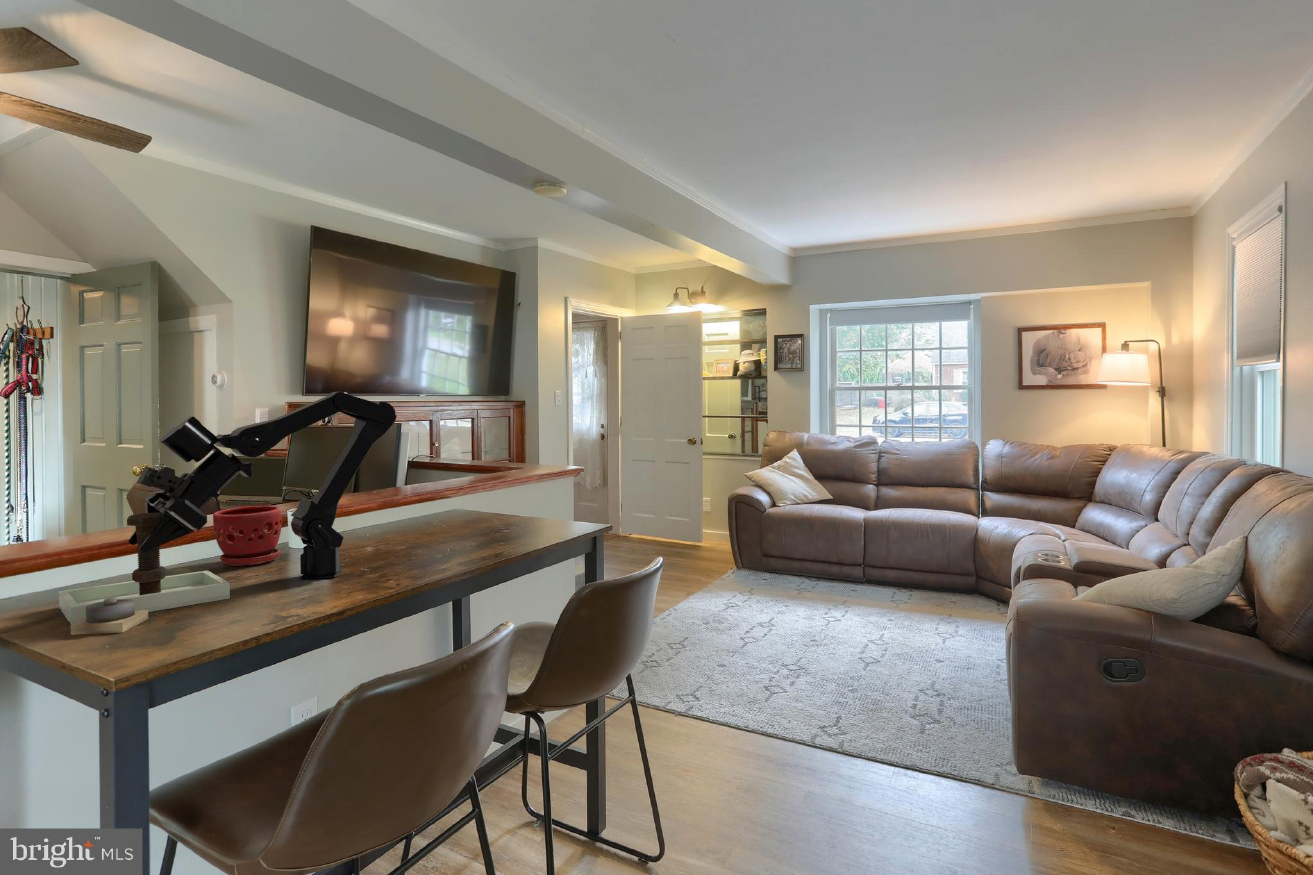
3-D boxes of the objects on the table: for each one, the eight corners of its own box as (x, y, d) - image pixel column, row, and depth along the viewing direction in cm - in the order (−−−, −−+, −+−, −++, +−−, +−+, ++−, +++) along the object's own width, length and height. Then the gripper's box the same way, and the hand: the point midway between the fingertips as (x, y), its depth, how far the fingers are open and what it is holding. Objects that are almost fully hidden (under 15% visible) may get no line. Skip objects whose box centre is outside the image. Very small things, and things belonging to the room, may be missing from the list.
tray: (207, 584, 134) (207, 570, 134) (229, 598, 125) (229, 582, 125) (59, 607, 118) (58, 591, 118) (71, 625, 109) (70, 607, 109)
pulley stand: (148, 618, 112) (147, 592, 112) (122, 632, 105) (122, 604, 105) (99, 620, 111) (99, 594, 111) (70, 634, 104) (70, 606, 104)
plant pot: (238, 555, 162) (237, 504, 161) (293, 556, 161) (293, 505, 161) (199, 568, 149) (198, 513, 148) (259, 569, 148) (258, 513, 148)
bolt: (133, 605, 118) (130, 518, 117) (126, 600, 121) (123, 515, 120) (174, 598, 122) (171, 514, 121) (166, 593, 125) (163, 511, 125)
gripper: (158, 448, 130) (84, 512, 122) (183, 452, 117) (102, 524, 110) (207, 486, 136) (139, 550, 128) (237, 494, 123) (163, 565, 116)
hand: (135, 547), depth 120 cm, fingers open, 9 cm apart
